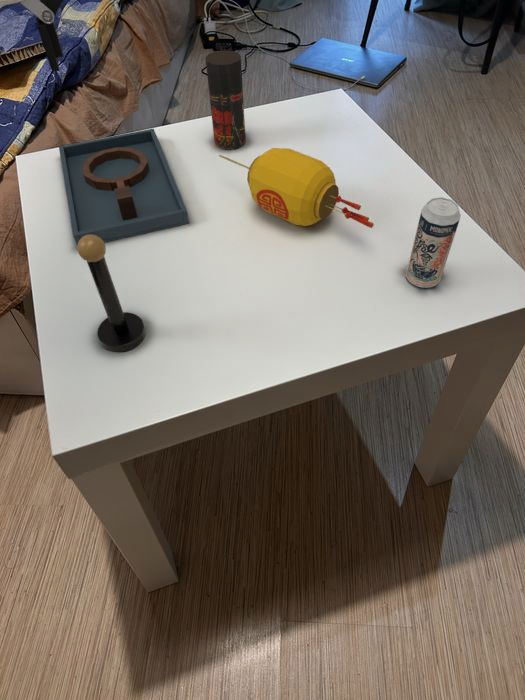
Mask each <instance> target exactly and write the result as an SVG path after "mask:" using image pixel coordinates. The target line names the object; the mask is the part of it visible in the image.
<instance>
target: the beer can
mask: <svg viewBox="0 0 525 700" xmlns="http://www.w3.org/2000/svg"><path fill="white" fill-rule="evenodd" d="M420 210H421V211H420V215H419V219H418V224H417V227H416V232H415V236H414V239H413V244H412V248H411V252H410V255H409V260H408V264H407V268H406V271H405V276H406V277H405V278H407V281H408V282H410V283H411V284H412V285H414V286H416V287H419V288H423V289H425V288H433V287H435V286H437V285H438V284H439V283H440V282H441V280H442V277H443V274H444V270H445V267H446V264H447V261H448V258H449V254H450V252H451V248H452V246H453V243H454V239H455V237H456V232H457V229H458V227H459V223H460V220H461V218H462V217H461V216H462V215H461V211H460V208H459V204H457V203H456V202H455V201H454V200H452V199H450V198H445V197H442V196H441V197H433V198H431V199H430V200H429V201H427V202H426V203H425V205H423V206H422V208H421V209H420Z"/></svg>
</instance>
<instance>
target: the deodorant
mask: <svg viewBox="0 0 525 700" xmlns="http://www.w3.org/2000/svg"><path fill="white" fill-rule="evenodd" d="M205 67H206V76H207V83H208V85H207V86H208V95H209V105H210V113H211V122H212V133H213V140H214V146H215V147H216V148H218V149H221V150H224V151H234V150H238V149H240V148H242V147H243V146H245V144H246V142H247V140H246V139H247V138H246V136H247V135H246V121H245V120H246V119H245V103H244V102H245V101H244V88H243V87H244V86H243V71H242V56H241V54H240V53H239V52H238V51H235V50H228V49H227V50H225V49H224V50H223V49H222V50H215V51H213V52H210V53H208V54H207V55H206V56H205Z"/></svg>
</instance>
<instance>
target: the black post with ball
mask: <svg viewBox="0 0 525 700" xmlns="http://www.w3.org/2000/svg"><path fill="white" fill-rule="evenodd" d="M76 247H77V253H78V255H79V257H80V258H81V259H82V260H84V261H86V263H87V266H88V270H89V271H90V274H91V278H92V279H93V282H94V285H95V288H96V290H97V293H98V295H99V297H100V301H101V304H102V307H103V309H104V311H105V314H106V316H107V317H106V318H105V319H103V320H102V321H101V323H100V324H99V326H98V327H97V333H96V334H97V338H98V340H99V343H100V345H101V346H102V347H103V348H104V349H105V350H107V351H109V352H113V353H123V352H124V353H125V352H128V351H131V350H132V349H135V348H136V347H138V346H139V345H140V344H141V343H142V342H143V340H144V338H145V336H146V327H145V324H144V321H143V319H142V318H141V317H140V316H139V315H137V314H136V313H132V312H129V311H128V312H127V311H124V310H123V307H122V305H121V301H120V298H119V295H118V293H117V289H116V287H115V284H114V281H113V278H112V275H111V272H110V269H109V266H108V263H107V260H106V258H105V255H106V251H107V246H106V242H104V241H103V240H102V239H101V238H100V237H98V236H96V235H91V234H90V235H85V236H83V237H82V238H81V239H80V240H79V242H78V245H77V244H76Z"/></svg>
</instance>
